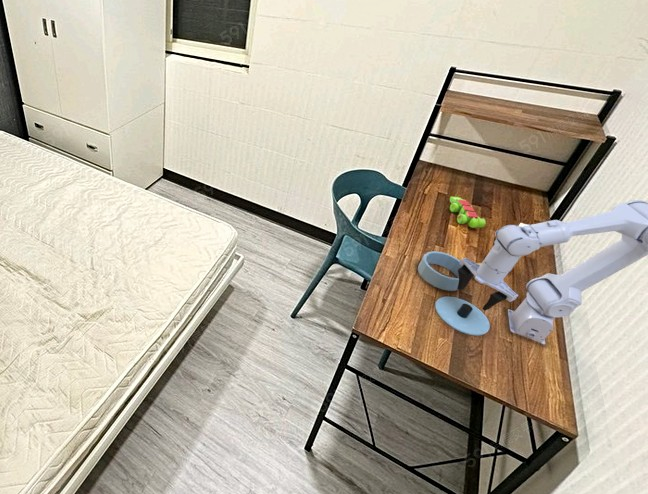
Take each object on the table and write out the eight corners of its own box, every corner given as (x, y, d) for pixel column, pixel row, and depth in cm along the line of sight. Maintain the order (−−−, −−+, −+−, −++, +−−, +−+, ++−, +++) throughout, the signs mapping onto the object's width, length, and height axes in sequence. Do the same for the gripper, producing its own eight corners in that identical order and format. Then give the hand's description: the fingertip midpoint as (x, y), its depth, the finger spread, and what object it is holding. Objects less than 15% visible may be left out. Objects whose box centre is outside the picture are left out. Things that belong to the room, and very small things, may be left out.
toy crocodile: (443, 201, 169) (450, 189, 166) (461, 203, 168) (468, 192, 165) (463, 232, 153) (471, 219, 150) (483, 235, 152) (491, 222, 149)
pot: (461, 297, 127) (469, 286, 124) (415, 280, 132) (422, 269, 129) (461, 272, 136) (468, 261, 133) (418, 257, 141) (425, 246, 138)
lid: (489, 345, 113) (497, 335, 111) (433, 322, 119) (439, 312, 117) (486, 311, 123) (494, 301, 120) (435, 292, 129) (441, 282, 126)
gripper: (461, 250, 114) (440, 283, 121) (514, 288, 102) (487, 322, 110) (479, 244, 116) (457, 277, 123) (533, 281, 104) (505, 315, 112)
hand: (472, 298), depth 117 cm, fingers open, 7 cm apart
